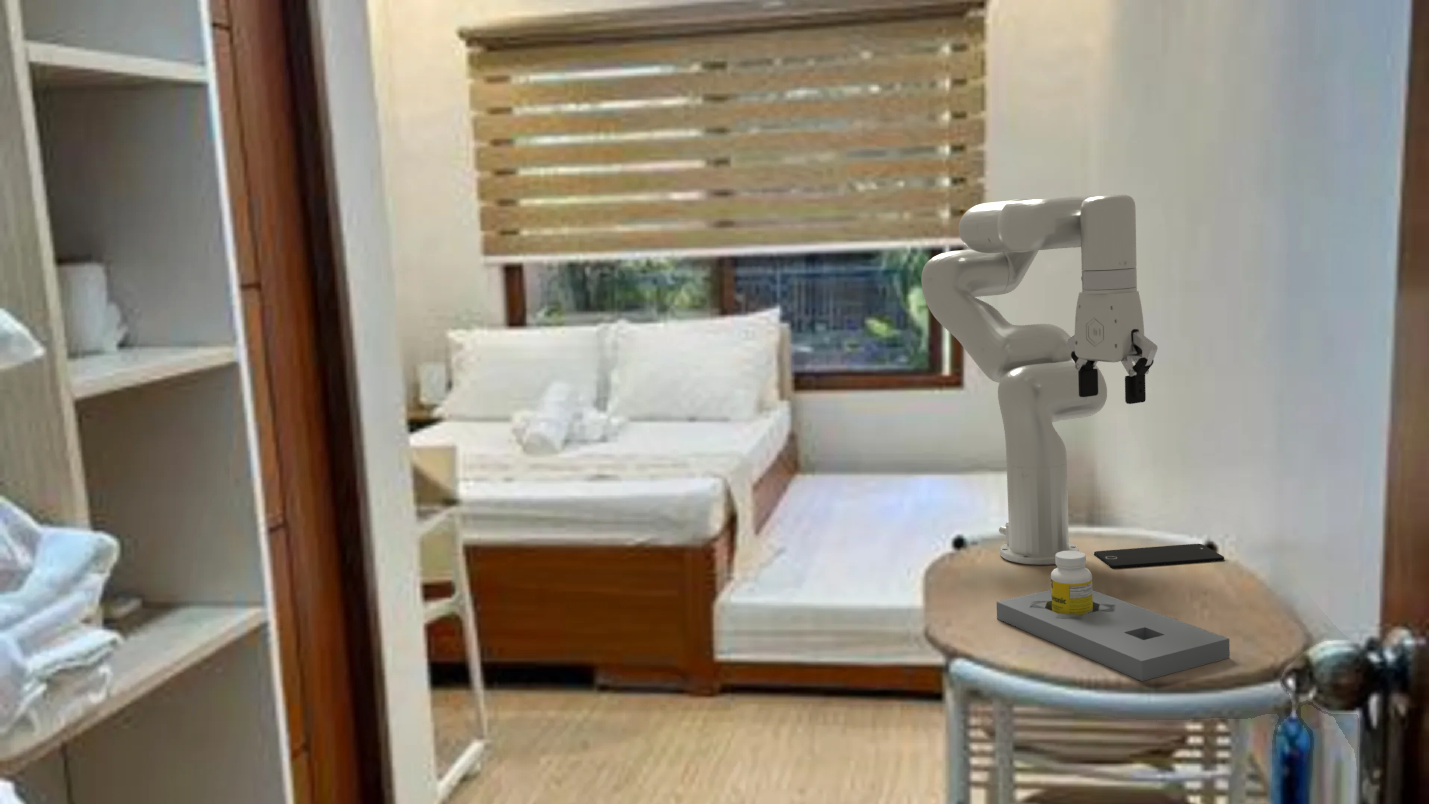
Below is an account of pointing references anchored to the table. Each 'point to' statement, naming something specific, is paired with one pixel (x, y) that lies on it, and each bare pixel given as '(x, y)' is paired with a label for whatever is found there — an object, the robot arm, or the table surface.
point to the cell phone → (1158, 556)
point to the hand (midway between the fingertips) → (1111, 399)
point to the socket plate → (1118, 634)
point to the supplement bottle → (1071, 584)
